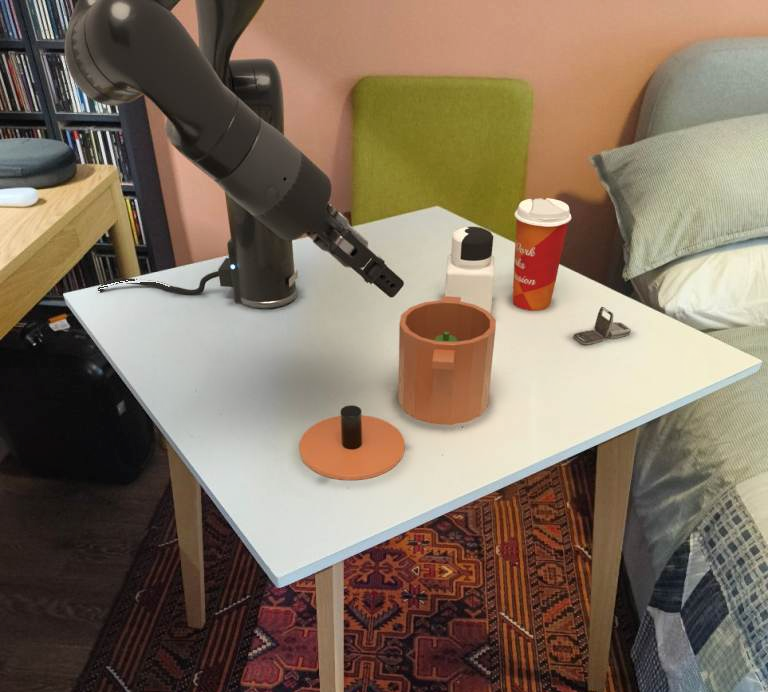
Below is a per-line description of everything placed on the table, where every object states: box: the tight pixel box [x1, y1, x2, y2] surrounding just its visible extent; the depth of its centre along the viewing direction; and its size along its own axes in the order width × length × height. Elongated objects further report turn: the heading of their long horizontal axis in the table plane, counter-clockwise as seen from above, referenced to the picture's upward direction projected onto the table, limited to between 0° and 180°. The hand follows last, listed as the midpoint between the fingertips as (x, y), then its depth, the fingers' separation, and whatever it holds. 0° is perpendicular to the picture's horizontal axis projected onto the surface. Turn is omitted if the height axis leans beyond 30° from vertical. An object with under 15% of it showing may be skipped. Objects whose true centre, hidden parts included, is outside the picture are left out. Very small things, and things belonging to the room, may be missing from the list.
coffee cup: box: [512, 197, 572, 312], centre depth 117 cm, size 8×8×15 cm
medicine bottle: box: [444, 226, 495, 315], centre depth 116 cm, size 7×7×12 cm
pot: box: [397, 295, 497, 426], centre depth 96 cm, size 11×17×12 cm
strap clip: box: [573, 306, 631, 345], centre depth 112 cm, size 8×3×4 cm, turn 113°
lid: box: [298, 404, 405, 481], centre depth 89 cm, size 12×12×6 cm
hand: (381, 274), depth 85 cm, fingers open, 8 cm apart
